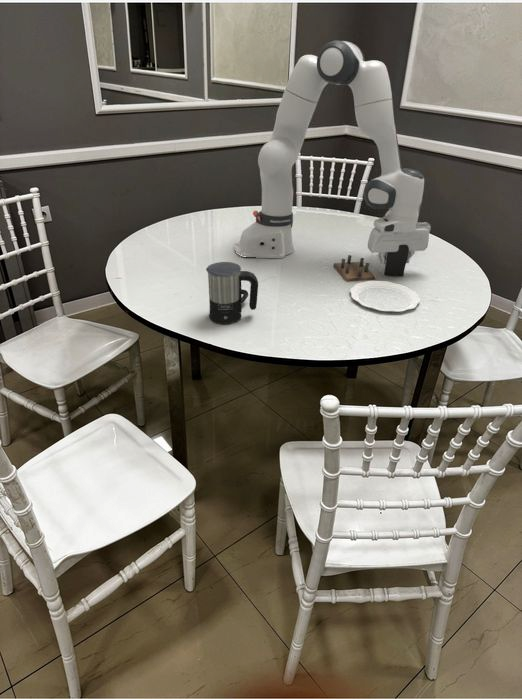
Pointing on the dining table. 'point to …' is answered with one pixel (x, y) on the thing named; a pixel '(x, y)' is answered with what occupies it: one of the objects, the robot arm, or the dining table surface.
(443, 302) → the dining table surface
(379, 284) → the plate
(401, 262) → the battery charger
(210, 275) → the milk frother
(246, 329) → the dining table surface
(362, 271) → the brown pegboard
